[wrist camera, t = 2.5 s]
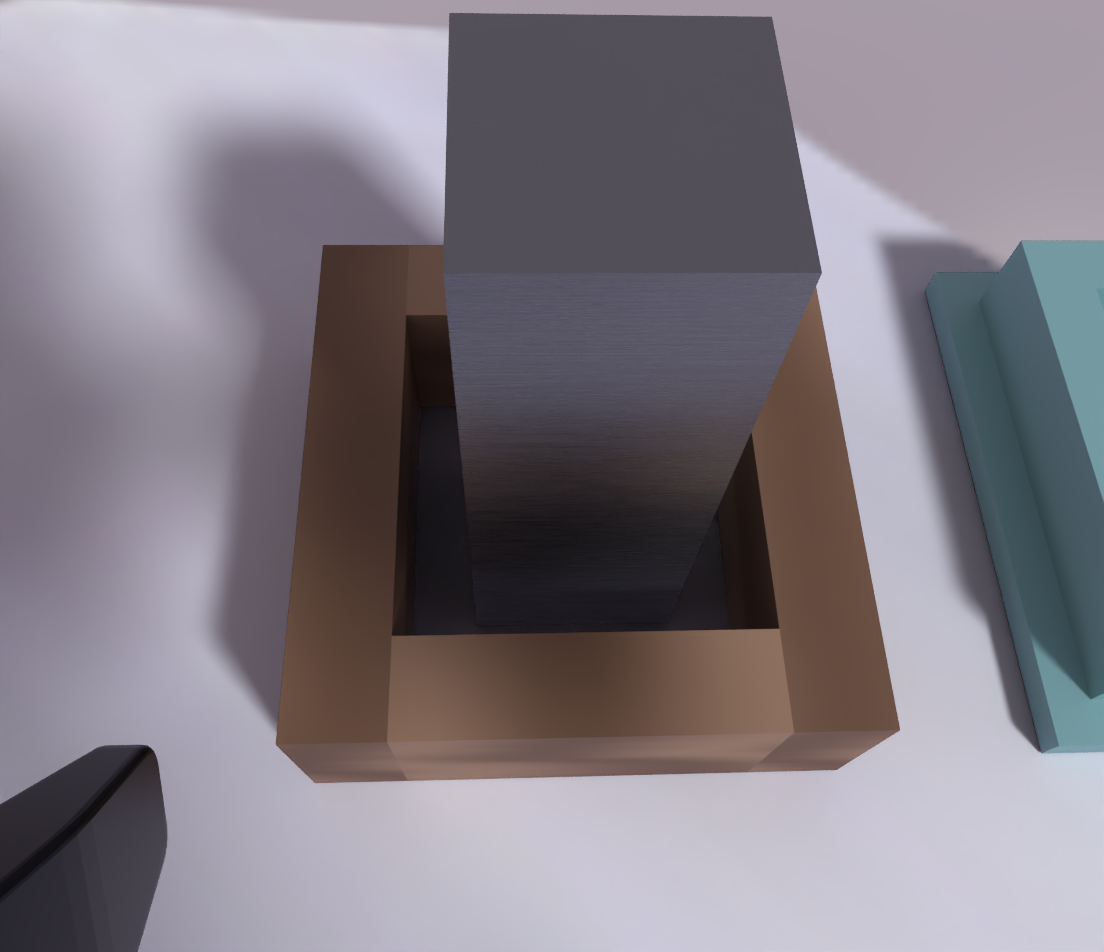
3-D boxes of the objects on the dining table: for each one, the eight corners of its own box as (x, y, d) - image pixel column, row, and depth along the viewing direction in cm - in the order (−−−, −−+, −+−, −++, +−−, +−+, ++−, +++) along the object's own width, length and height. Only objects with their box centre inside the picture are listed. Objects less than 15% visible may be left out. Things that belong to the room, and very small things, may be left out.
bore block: (768, 341, 27) (808, 245, 23) (836, 769, 22) (899, 729, 18) (348, 343, 26) (323, 245, 23) (314, 783, 21) (275, 745, 18)
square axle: (652, 455, 25) (771, 16, 14) (667, 622, 23) (821, 272, 12) (477, 457, 25) (449, 13, 14) (477, 625, 23) (442, 273, 11)
